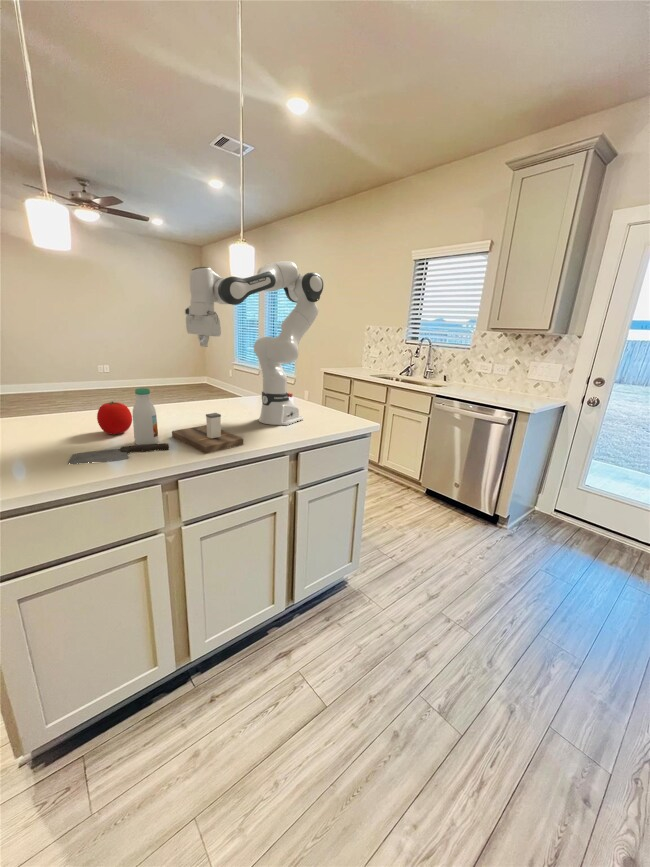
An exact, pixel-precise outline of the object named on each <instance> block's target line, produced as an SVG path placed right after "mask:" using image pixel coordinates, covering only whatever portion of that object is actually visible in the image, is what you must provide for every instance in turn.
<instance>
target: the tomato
mask: <svg viewBox="0 0 650 867" xmlns="http://www.w3.org/2000/svg"><path fill="white" fill-rule="evenodd" d="M96 420H97V423H98V426H99V428H100V429H101V430H102V431H103V432H104V433H106V434H109V435H118V434H123V433H125V432H127V431H128V430H130V428H131V425H132V424H133V414H132V412H131V410H130V408H129V407H128V406H127V405H125V404H123V403H121V402H119V401H117V402H114V401H111V402H110V401H109V402H106V403H103V404H101V406H100V407H99V408H98V410H97V413H96Z"/></svg>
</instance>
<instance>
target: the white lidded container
mask: <svg viewBox="0 0 650 867" xmlns="http://www.w3.org/2000/svg"><path fill="white" fill-rule="evenodd" d="M221 417H222V414H220V413H217V412H212V413H206V414H205V419H206V421H205V422H206V425H207V437H209V438H211V439H212V438H217V437H221V430H222V427H221V426H222V423H221V421H222V420H221Z"/></svg>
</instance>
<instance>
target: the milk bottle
mask: <svg viewBox="0 0 650 867" xmlns="http://www.w3.org/2000/svg"><path fill="white" fill-rule="evenodd" d="M134 392H135V396H136V399H135V403H134V405H133V408H132V426H133V434H134V444H135V445H144V444H159V443H158V442H159V431H158V419H157V411H156V408H155V406H154V404H153V402H152V400H151V398H150V396H151V390H150V389H149V388H146V387H145V388H144V387H141V388H140V387H139V388H135V390H134Z"/></svg>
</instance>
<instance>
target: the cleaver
mask: <svg viewBox="0 0 650 867" xmlns="http://www.w3.org/2000/svg"><path fill="white" fill-rule="evenodd" d="M169 449H170V444H169V443H161V442H160V443H156V444H144V445H137V444H134V445H125V446H120V448H111V449H104V450H103V449H102V450H93V451H86V452H85V451H84V452H78V453H72V455H71V456H70V458H69V460H68V463H67V465H68V464H69V463H70V464H73V465H80V464H79V463H88V462H89V463H90V464H93V463H92V462H102V463H108V462H107V461H109V462H115V460H116V461H120V459H121V460H127V459H129V454H130V452H131V453H136V452H137V453H138V452H139V453H140V452H142V453H144V452H145V453H146V451H148V452H155V451H154V450H156V451H168V450H169ZM128 453H129V454H128ZM77 463H78V464H77Z"/></svg>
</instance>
